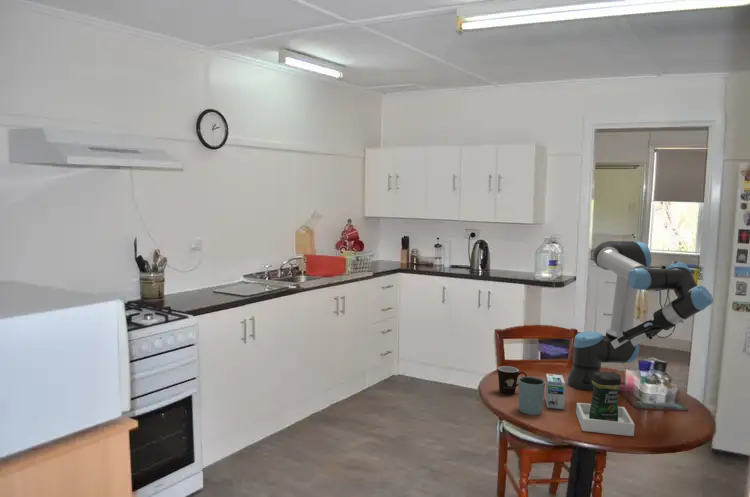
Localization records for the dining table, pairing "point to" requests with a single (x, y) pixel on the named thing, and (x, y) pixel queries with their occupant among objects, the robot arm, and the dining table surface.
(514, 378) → the coffee mug
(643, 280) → the robot arm
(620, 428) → the tray
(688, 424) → the dining table surface
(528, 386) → the blue-grey cup
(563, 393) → the light bulb box
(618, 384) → the coffee jar
